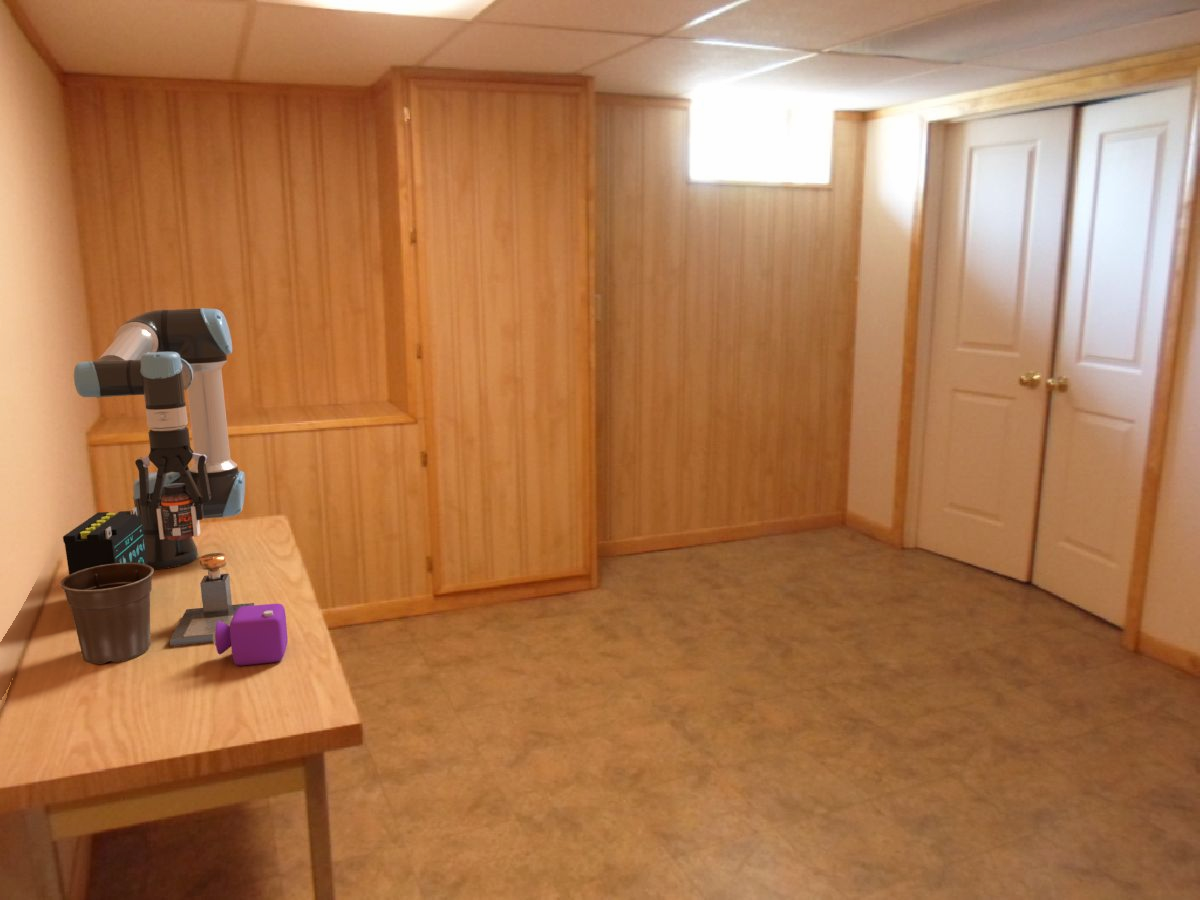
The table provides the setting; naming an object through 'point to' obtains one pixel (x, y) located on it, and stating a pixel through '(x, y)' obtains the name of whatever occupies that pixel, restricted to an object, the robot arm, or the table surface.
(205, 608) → the base
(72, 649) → the table surface
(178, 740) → the table surface
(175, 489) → the supplement bottle
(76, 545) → the battery
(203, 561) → the plunger
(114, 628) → the plant pot
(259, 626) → the toy camera
